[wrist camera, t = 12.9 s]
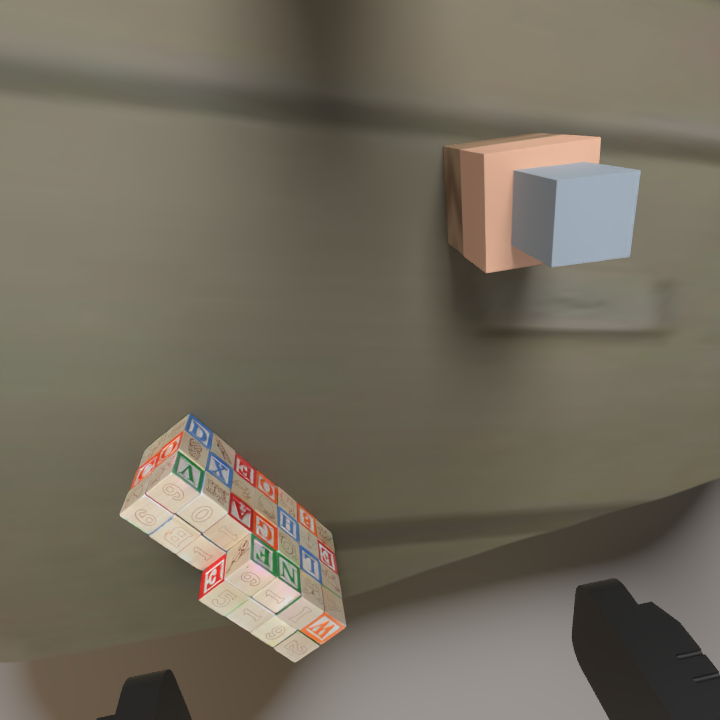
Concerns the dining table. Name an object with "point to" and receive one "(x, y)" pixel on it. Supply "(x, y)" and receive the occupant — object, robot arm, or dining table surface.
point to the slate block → (574, 212)
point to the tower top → (507, 193)
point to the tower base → (454, 183)
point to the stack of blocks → (239, 539)
